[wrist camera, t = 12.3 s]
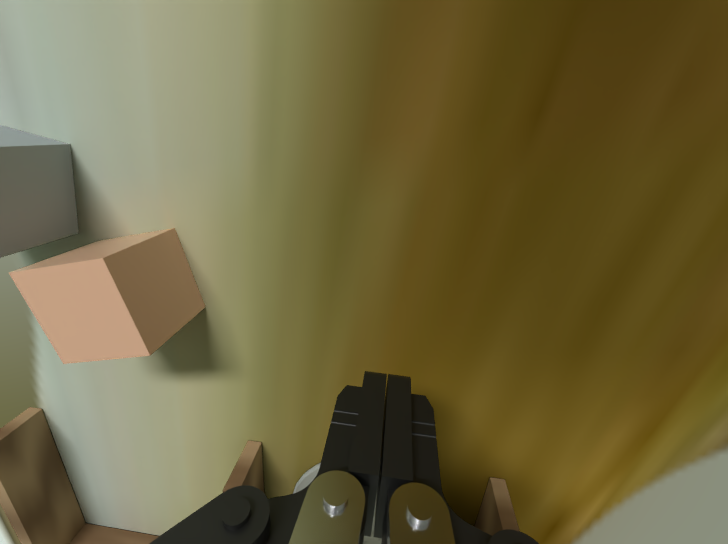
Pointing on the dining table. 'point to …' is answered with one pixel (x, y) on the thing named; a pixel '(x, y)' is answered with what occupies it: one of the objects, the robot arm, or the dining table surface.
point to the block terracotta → (112, 296)
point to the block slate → (34, 191)
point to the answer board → (81, 540)
